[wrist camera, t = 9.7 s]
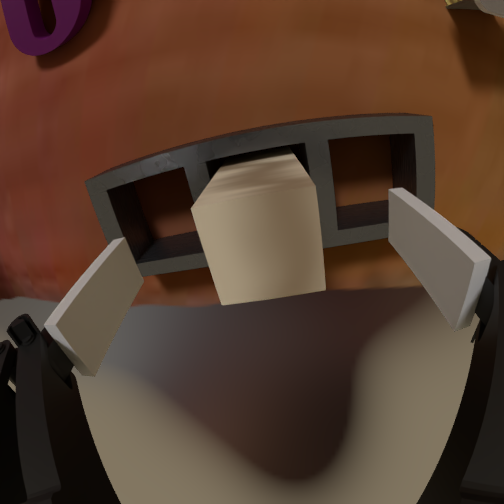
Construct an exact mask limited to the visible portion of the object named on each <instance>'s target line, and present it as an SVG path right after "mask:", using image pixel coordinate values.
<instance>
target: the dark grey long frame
mask: <svg viewBox="0 0 504 504" xmlns="http://www.w3.org/2000/svg"><path fill="white" fill-rule="evenodd" d="M385 134H389V135H390V145H391V158H392V175H393V189H394V188H404V189H405V190H406V191H408V192H409V193H411V194H412V195H414V196H415V197H417V198H418V199H419V200H421V201H422V202H424V203H425V204H426V205H428V206H429V207H430V208H432V209H433V210H434V200H435V151H434V133H433V121H432V116H427V115H419V114H410V113H378V114H359V115H345V116H334V117H324V118H315V119H307V120H300V121H293V122H286V123H280V124H273V125H268V126H262V127H257V128H251V129H246V130H241V131H237V132H232V133H227V134H223V135H219V136H214V137H210V138H206V139H202V140H198V141H195V142H191V143H187V144H183V145H180V146H176V147H173V148H170V149H166V150H163V151H160V152H156V153H153V154H150V155H147V156H144V157H141V158H138V159H135V160H132V161H129V162H126V163H124V164H121V165H118V166H115V167H113V168H110V169H108V170H106V171H104V172H102V173H100V174H98V175H96V176H94V177H92V178H90V179H88V180H87V181H85V184H86V187H87V190H88V193H89V196H90V198H91V201H92V204H93V207H94V209H95V212H96V215H97V217H98V220H99V223H100V225H101V228H102V230H103V233H104V235H105V237H106V240H107V242H108V245H109V244H110V243H111V242H112V241H113V240H115V239H119V238H123V237H125V239H126V241H127V244H128V246H129V248H130V251H131V253H132V255H133V258H134V260H135V262H136V265H137V267H138V269H139V271H140V274H141V276H142V277H143V276H150V275H156V274H163V273H170V272H176V271H183V270H189V269H196V268H203V267H209V265H208V262H207V259H206V256H205V253H204V250H203V247H202V244H201V241H200V237H199V234H198V231H194V232H189V233H184V234H179V235H173V236H168V237H164V238H159V239H154V240H153V238H152V235H151V233H150V230H149V227H148V224H147V222H146V219H145V216H144V213H143V210H142V207H141V205H140V202H139V199H138V196H137V193H136V189H135V186H134V183H133V181H136V180H139V179H142V178H145V177H149V176H152V175H156V174H159V173H162V172H166V171H170V170H173V169H177V168H181V167H184V169H185V172H186V176H187V180H188V183H189V187H190V190H191V194H192V197H193V201H194V203H195V202H196V200H197V199H198V198H199V196H200V195H201V193H202V192H203V190H204V189H205V188H206V186H207V185H208V184H209V182H210V181H211V179H212V178H213V177H214V175H215V174H216V173H217V171H218V170H219V168H220V164H219V160H218V158H222V157H227V156H231V155H236V154H241V153H246V152H251V151H256V150H262V149H267V148H273V147H279V146H285V145H291V144H298V146H299V152H300V158H301V164H302V166H303V168H304V169H305V171H306V172H307V174H308V175H309V177H310V178H311V180H312V181H313V183H314V184H315V186H316V193H317V201H318V209H319V218H320V227H321V236H322V247H323V248H328V247H335V246H341V245H347V244H353V243H359V242H365V241H371V240H377V239H383V238H388V237H389V200H383V201H376V202H369V203H362V204H354V205H348V206H341V207H336V203H335V193H334V184H333V175H332V167H331V159H330V152H329V145H328V139H337V138H347V137H357V136H370V135H385Z"/></svg>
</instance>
